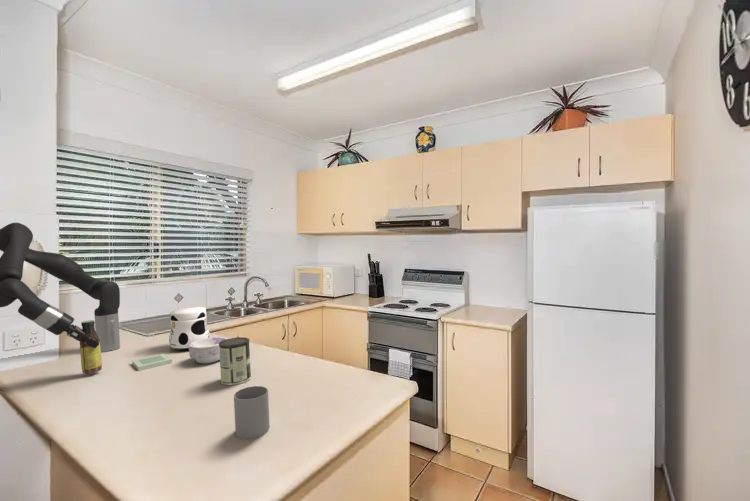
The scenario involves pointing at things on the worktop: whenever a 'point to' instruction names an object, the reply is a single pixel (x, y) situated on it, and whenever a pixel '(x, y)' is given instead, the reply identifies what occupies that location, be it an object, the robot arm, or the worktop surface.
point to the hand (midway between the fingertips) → (95, 344)
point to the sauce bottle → (90, 350)
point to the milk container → (187, 327)
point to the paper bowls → (206, 350)
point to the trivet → (151, 361)
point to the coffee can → (235, 361)
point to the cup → (251, 412)
